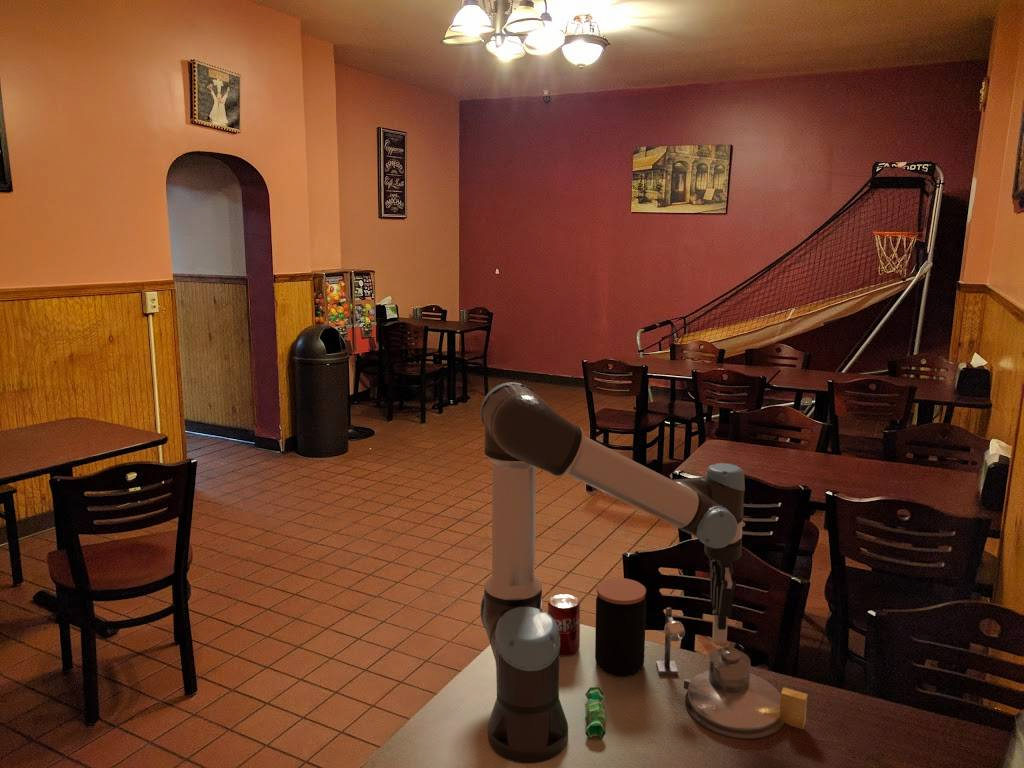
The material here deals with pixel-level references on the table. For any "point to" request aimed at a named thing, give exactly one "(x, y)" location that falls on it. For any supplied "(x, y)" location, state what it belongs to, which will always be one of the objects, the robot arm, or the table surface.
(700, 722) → the turntable base
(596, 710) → the candy
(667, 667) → the dial stand
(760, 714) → the turntable
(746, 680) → the cover
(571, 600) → the soda can
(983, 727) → the table surface
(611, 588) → the coffee jar
